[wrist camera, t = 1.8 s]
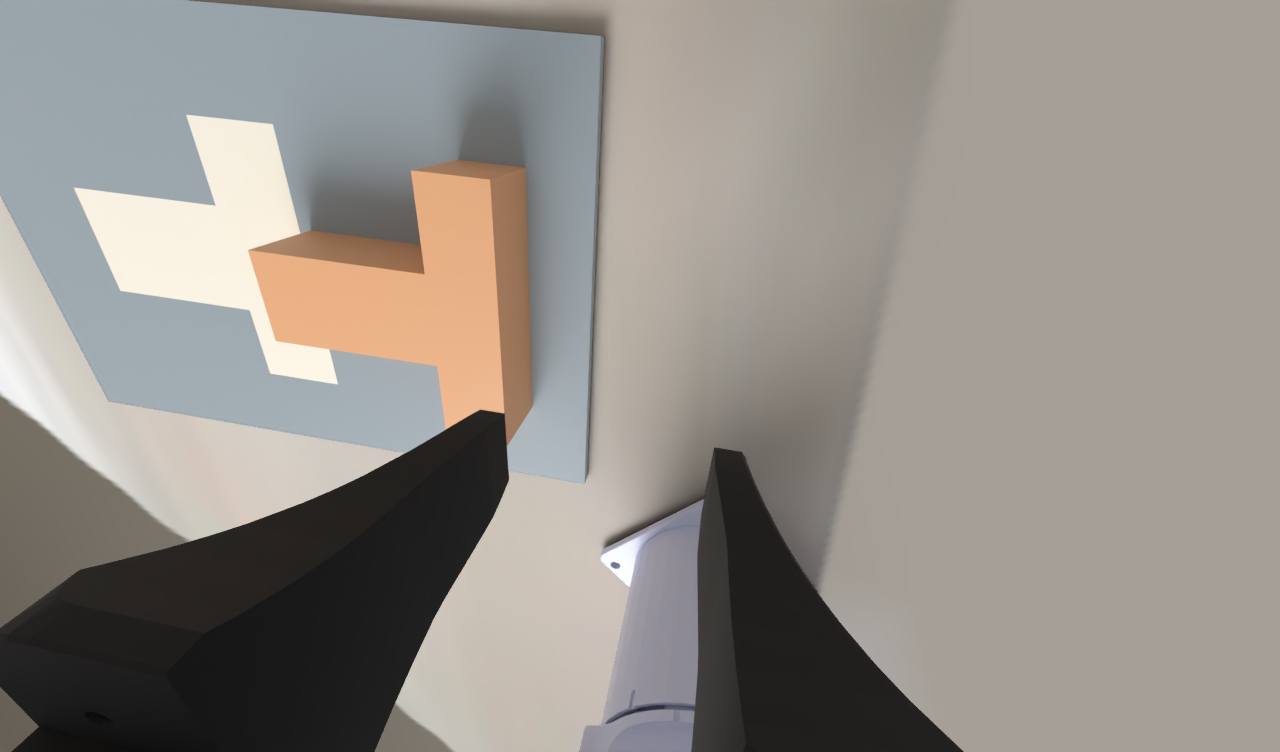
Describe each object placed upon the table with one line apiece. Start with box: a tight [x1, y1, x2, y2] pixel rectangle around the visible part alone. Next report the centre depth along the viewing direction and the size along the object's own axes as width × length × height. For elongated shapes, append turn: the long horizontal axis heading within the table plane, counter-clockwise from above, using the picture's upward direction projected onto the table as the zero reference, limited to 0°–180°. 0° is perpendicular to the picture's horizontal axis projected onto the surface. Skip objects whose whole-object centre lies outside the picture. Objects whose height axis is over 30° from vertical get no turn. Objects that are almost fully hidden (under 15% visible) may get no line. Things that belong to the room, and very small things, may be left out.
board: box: [0, 0, 604, 484], centre depth 21 cm, size 26×18×1 cm
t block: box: [248, 160, 532, 446], centre depth 19 cm, size 9×10×3 cm
